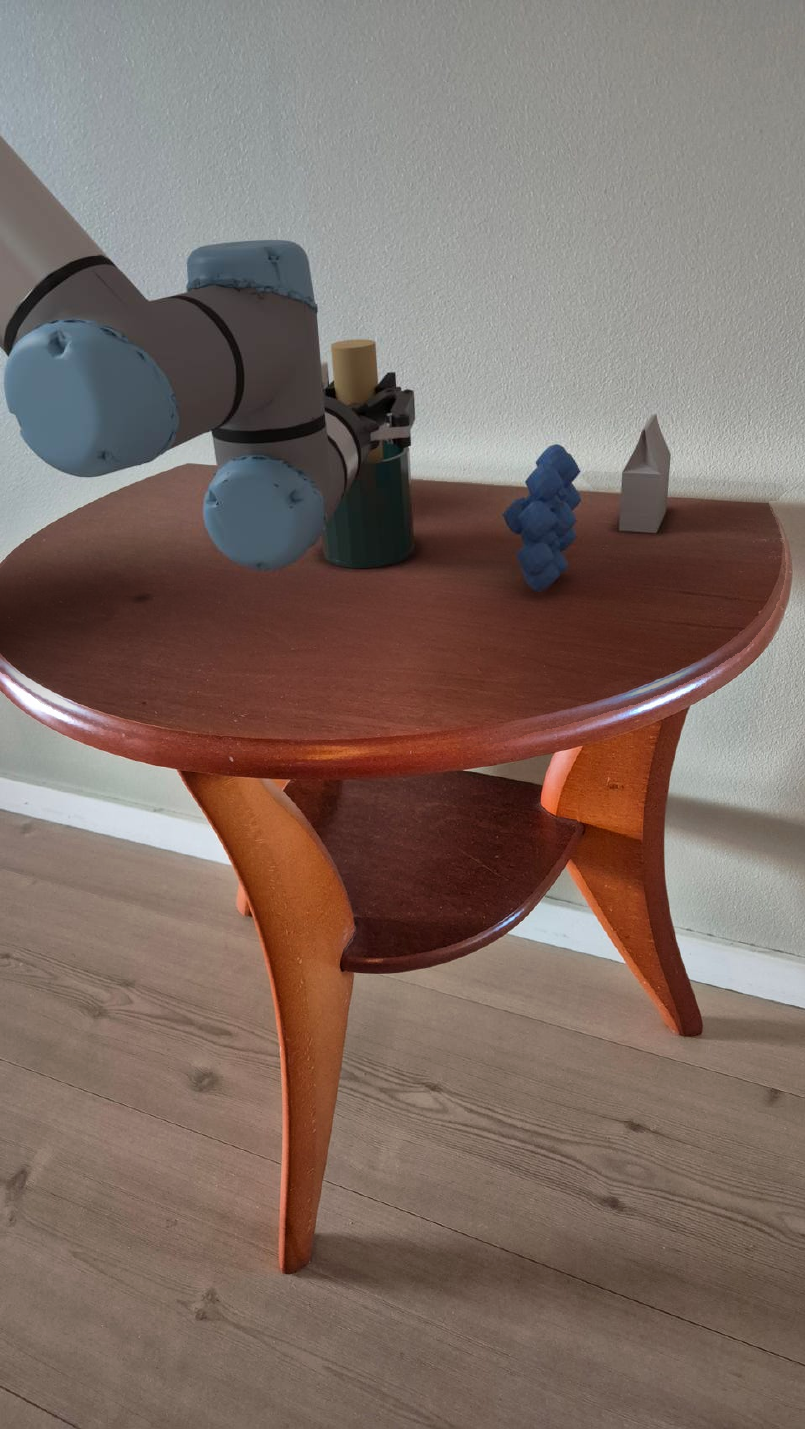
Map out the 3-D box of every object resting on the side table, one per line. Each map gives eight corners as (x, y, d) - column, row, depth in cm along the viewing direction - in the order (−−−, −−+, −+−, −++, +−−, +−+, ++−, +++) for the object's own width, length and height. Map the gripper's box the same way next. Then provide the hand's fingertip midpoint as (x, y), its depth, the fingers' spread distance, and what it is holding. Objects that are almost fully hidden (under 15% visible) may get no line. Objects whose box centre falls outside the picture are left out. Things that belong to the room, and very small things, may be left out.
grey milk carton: (666, 511, 103) (674, 414, 98) (656, 533, 98) (664, 431, 93) (630, 508, 105) (636, 412, 100) (618, 530, 99) (624, 430, 94)
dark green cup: (314, 568, 95) (303, 465, 90) (334, 535, 103) (325, 438, 98) (406, 568, 94) (400, 464, 89) (420, 535, 101) (415, 437, 96)
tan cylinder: (338, 482, 93) (326, 348, 87) (347, 469, 96) (336, 340, 90) (380, 481, 92) (370, 347, 86) (387, 469, 96) (379, 338, 90)
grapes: (522, 554, 95) (522, 428, 89) (591, 561, 93) (596, 432, 87) (481, 601, 86) (479, 465, 80) (557, 610, 84) (560, 470, 78)
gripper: (212, 504, 79) (287, 428, 99) (424, 503, 76) (457, 425, 96) (197, 408, 75) (278, 349, 95) (419, 403, 72) (455, 344, 92)
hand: (368, 387), depth 95 cm, fingers closed on tan cylinder, 4 cm apart
